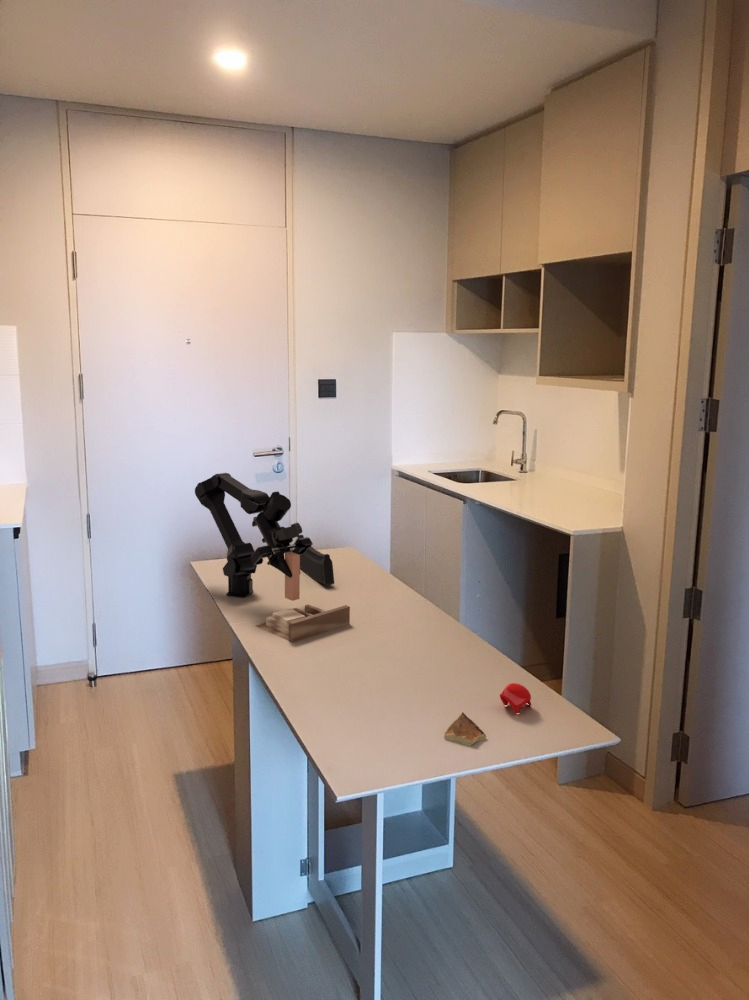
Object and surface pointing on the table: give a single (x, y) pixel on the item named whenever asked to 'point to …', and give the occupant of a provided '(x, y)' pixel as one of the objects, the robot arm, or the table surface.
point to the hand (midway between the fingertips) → (295, 575)
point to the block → (294, 582)
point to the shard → (464, 731)
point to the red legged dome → (515, 696)
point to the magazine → (317, 565)
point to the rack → (305, 622)
